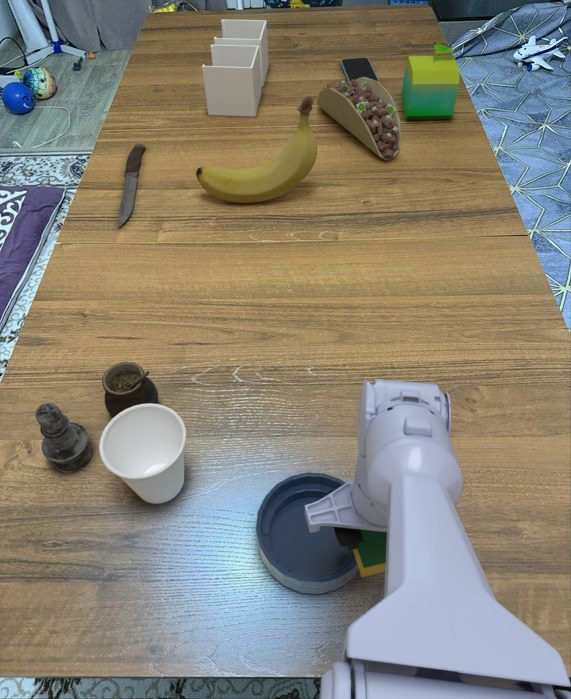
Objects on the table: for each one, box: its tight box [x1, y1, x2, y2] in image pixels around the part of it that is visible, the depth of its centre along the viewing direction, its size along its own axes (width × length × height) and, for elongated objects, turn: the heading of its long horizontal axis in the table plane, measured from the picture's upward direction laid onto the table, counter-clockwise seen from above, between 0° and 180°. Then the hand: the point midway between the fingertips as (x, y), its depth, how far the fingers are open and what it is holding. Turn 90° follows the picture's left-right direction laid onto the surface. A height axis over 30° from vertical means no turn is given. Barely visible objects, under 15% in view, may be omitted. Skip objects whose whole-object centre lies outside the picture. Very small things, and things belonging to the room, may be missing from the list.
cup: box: [98, 403, 187, 505], centre depth 70 cm, size 10×10×11 cm
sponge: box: [353, 529, 387, 578], centre depth 61 cm, size 7×4×4 cm, turn 13°
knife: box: [117, 142, 146, 228], centre depth 115 cm, size 28×3×1 cm, turn 4°
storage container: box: [201, 18, 270, 117], centre depth 136 cm, size 25×11×11 cm, turn 174°
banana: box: [195, 95, 318, 204], centre depth 105 cm, size 23×6×20 cm, turn 93°
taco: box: [316, 77, 402, 161], centre depth 123 cm, size 10×27×10 cm, turn 29°
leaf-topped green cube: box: [401, 41, 460, 121], centre depth 126 cm, size 11×10×15 cm
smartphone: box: [340, 56, 380, 82], centre depth 143 cm, size 7×1×15 cm
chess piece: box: [34, 402, 94, 474], centre depth 73 cm, size 6×6×12 cm
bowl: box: [255, 472, 359, 595], centre depth 68 cm, size 13×13×4 cm
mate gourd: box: [101, 360, 159, 419], centre depth 78 cm, size 7×8×10 cm
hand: (372, 534), depth 61 cm, fingers closed on sponge, 4 cm apart
